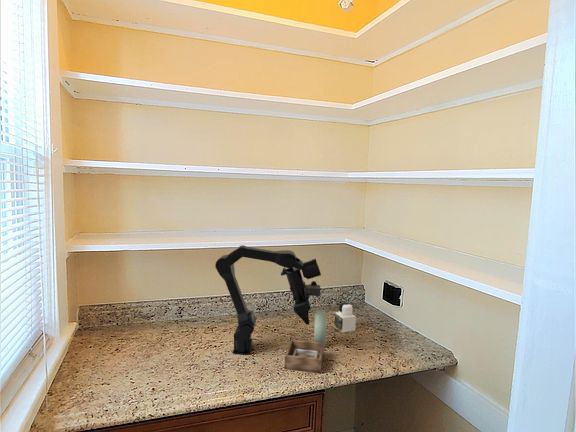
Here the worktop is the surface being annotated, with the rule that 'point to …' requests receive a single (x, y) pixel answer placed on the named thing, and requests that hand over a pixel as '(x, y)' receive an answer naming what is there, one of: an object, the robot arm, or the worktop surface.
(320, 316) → the sage peg
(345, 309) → the medicine bottle
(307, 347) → the walnut box
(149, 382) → the worktop surface
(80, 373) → the worktop surface
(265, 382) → the worktop surface
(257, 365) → the worktop surface
